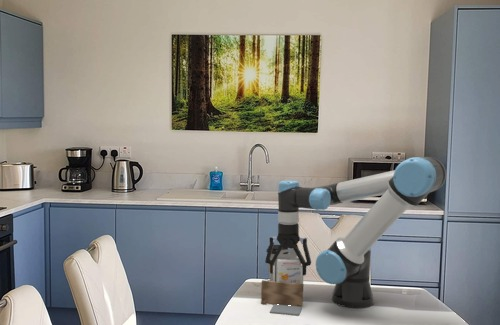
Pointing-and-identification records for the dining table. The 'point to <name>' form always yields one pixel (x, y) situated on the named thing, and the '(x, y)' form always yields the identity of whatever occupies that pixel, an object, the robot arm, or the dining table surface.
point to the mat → (286, 309)
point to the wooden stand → (282, 293)
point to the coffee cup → (273, 256)
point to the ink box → (288, 267)
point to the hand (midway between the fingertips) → (288, 282)
